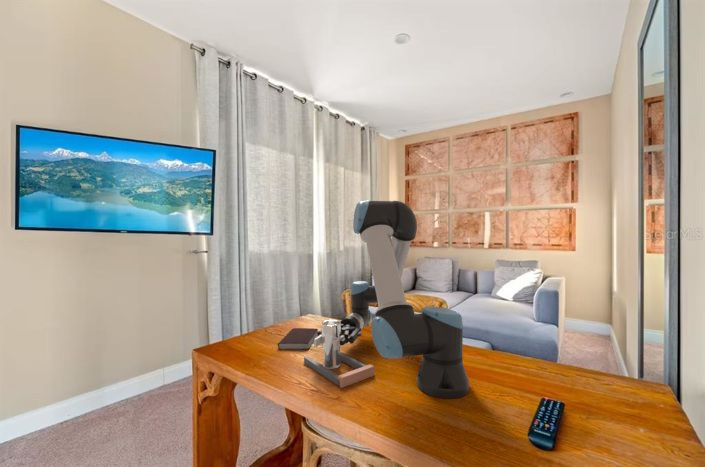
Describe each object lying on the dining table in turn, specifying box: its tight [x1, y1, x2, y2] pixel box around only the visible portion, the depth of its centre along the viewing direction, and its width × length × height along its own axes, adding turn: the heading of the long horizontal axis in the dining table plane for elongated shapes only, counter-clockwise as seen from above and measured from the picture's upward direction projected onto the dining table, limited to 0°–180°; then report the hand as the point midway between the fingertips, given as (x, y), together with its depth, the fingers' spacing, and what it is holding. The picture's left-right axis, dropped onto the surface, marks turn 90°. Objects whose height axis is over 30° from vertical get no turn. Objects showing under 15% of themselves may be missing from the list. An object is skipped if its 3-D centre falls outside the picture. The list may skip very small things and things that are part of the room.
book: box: [277, 327, 319, 351], centre depth 137 cm, size 12×19×3 cm, turn 174°
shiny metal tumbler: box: [321, 319, 342, 370], centre depth 112 cm, size 7×7×15 cm
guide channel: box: [303, 351, 375, 389], centre depth 110 cm, size 23×13×3 cm, turn 38°
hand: (324, 344), depth 108 cm, fingers closed on shiny metal tumbler, 7 cm apart
